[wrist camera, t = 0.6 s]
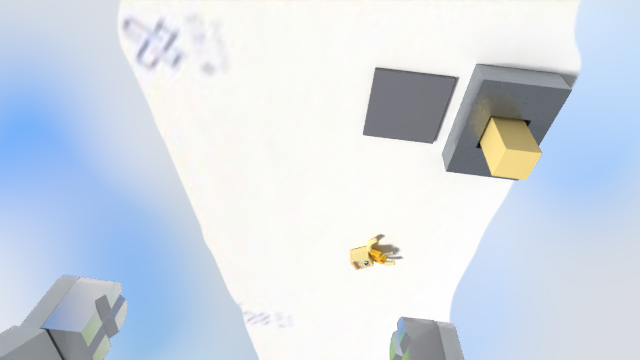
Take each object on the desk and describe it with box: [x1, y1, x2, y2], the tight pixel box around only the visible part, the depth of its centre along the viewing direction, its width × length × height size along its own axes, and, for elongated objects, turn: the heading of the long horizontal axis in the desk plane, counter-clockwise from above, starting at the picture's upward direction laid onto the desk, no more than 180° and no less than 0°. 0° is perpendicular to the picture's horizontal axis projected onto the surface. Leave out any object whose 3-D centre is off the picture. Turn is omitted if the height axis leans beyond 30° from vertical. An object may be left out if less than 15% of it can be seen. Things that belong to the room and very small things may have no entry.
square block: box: [479, 116, 542, 180], centre depth 46 cm, size 4×4×10 cm
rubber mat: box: [363, 68, 455, 144], centre depth 50 cm, size 10×10×1 cm
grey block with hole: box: [442, 64, 572, 180], centre depth 48 cm, size 14×10×4 cm
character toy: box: [350, 238, 395, 270], centre depth 70 cm, size 8×3×8 cm
